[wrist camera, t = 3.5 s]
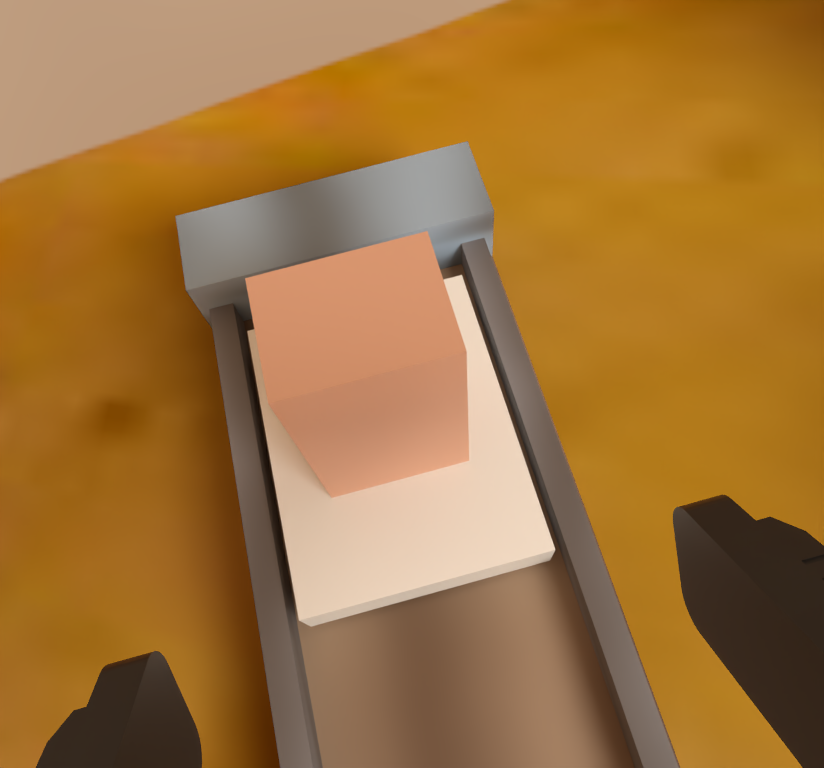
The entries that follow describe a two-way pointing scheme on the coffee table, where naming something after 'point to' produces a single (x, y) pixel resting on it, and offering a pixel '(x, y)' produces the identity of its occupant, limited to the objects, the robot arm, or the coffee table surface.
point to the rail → (444, 610)
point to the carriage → (386, 432)
